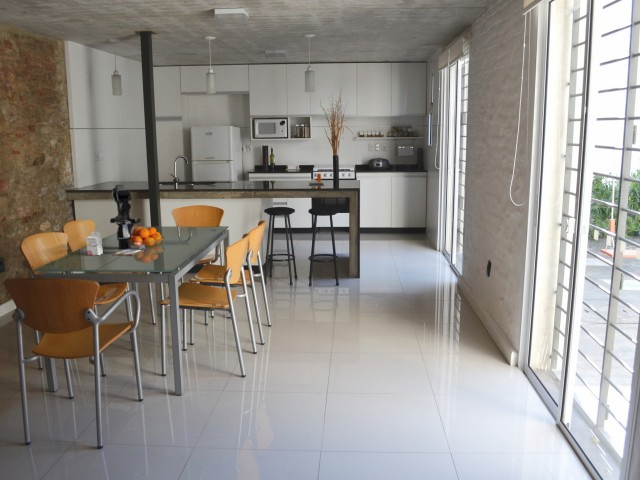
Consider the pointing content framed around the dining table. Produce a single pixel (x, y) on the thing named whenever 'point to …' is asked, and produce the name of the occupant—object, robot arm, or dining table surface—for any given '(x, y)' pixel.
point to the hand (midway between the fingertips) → (126, 233)
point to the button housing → (138, 247)
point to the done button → (137, 243)
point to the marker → (125, 231)
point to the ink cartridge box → (94, 244)
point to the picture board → (128, 252)
